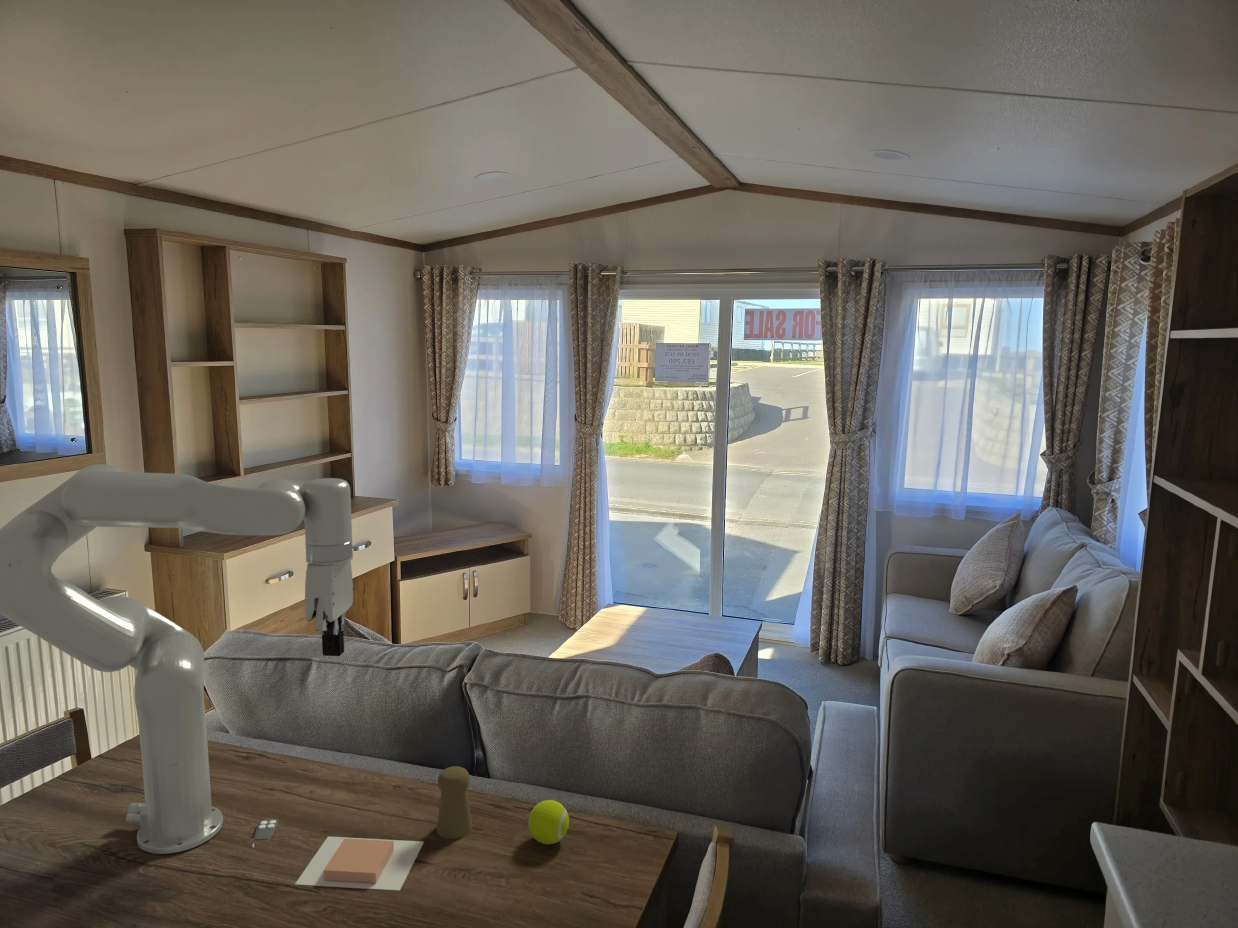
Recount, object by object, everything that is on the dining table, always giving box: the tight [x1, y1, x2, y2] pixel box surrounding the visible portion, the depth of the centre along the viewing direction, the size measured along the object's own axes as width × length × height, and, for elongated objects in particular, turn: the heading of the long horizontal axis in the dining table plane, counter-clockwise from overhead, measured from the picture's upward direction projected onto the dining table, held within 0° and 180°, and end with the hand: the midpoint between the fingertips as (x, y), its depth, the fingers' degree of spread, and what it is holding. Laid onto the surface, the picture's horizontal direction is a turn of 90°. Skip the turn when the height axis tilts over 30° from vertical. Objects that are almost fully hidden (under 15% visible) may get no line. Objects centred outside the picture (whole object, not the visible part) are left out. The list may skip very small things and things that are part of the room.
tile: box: [324, 837, 394, 883], centre depth 128 cm, size 8×2×8 cm
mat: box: [294, 836, 425, 892], centre depth 129 cm, size 16×12×1 cm
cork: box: [436, 765, 473, 840], centre depth 138 cm, size 6×6×11 cm
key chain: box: [251, 818, 279, 848], centre depth 134 cm, size 13×4×2 cm, turn 10°
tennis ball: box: [528, 799, 570, 845], centre depth 136 cm, size 7×7×7 cm
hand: (333, 653), depth 144 cm, fingers closed
